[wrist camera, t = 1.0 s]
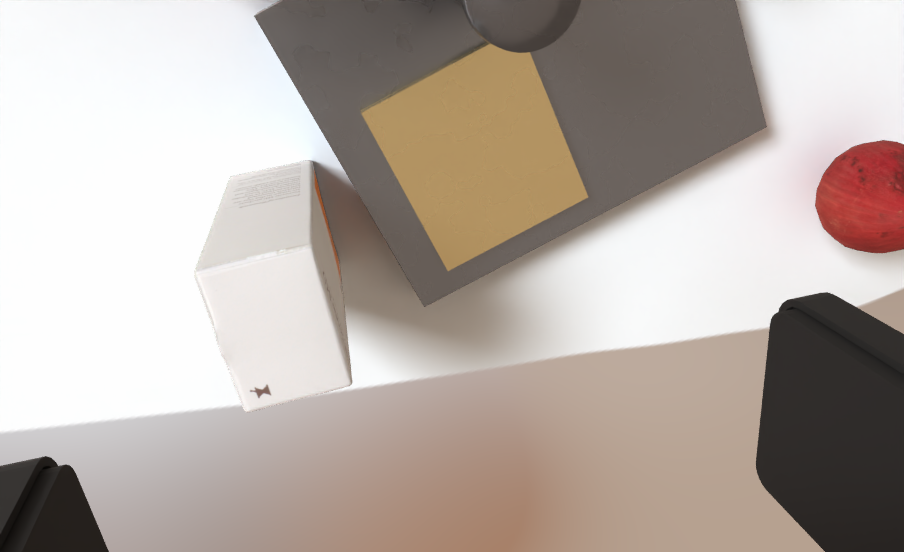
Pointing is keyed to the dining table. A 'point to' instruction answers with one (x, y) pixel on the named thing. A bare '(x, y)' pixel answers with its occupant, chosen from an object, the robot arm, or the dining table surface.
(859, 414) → the robot arm
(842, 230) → the onion
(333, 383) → the skincare box
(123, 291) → the dining table surface
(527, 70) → the press bed
